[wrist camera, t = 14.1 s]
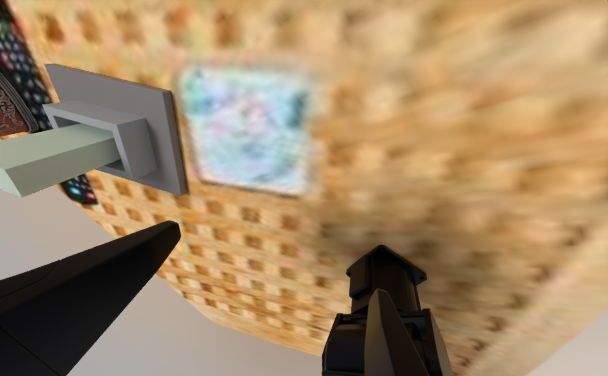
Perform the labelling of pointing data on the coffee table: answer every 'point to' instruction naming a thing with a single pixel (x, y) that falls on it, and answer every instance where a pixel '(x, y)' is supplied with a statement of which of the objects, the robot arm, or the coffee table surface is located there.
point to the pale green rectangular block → (53, 157)
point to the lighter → (14, 111)
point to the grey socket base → (123, 123)
